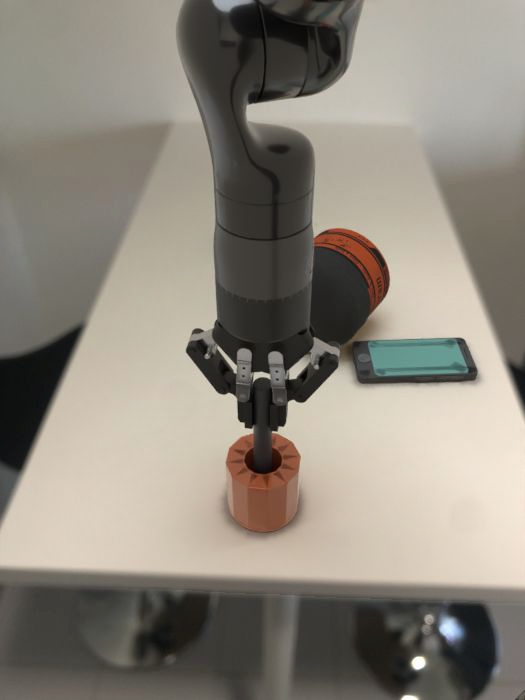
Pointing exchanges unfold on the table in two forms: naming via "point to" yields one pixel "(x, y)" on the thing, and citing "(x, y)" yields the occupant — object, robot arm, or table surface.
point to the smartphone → (413, 360)
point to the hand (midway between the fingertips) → (263, 423)
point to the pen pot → (263, 485)
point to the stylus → (262, 426)
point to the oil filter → (345, 284)
